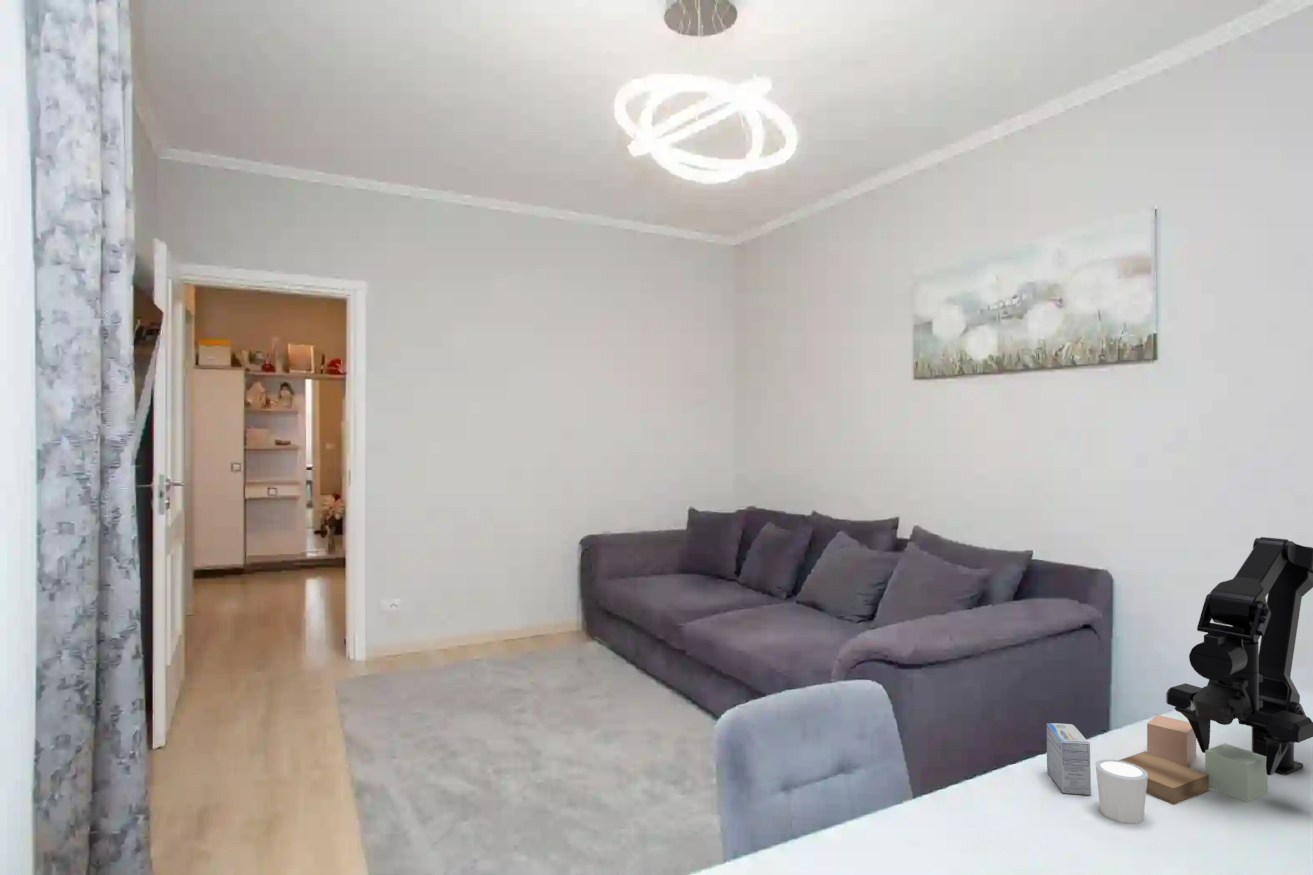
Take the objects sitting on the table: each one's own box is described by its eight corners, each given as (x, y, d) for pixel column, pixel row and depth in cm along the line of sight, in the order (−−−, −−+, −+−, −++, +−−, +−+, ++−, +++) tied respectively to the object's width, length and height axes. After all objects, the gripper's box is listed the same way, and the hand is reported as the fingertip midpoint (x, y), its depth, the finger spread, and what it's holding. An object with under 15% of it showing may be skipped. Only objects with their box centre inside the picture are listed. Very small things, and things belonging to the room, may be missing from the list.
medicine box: (1091, 796, 120) (1091, 742, 120) (1061, 793, 121) (1061, 740, 120) (1074, 774, 127) (1074, 723, 127) (1046, 771, 128) (1045, 721, 128)
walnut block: (1145, 765, 130) (1145, 751, 130) (1208, 789, 121) (1208, 774, 121) (1109, 777, 126) (1109, 763, 126) (1173, 804, 117) (1173, 788, 117)
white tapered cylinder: (1130, 830, 110) (1130, 782, 109) (1085, 809, 116) (1085, 764, 116) (1158, 818, 113) (1157, 772, 113) (1112, 798, 119) (1112, 755, 119)
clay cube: (1157, 746, 138) (1157, 714, 138) (1196, 757, 134) (1196, 723, 134) (1147, 756, 134) (1147, 723, 134) (1187, 767, 130) (1187, 733, 130)
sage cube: (1225, 778, 125) (1225, 743, 125) (1267, 794, 120) (1267, 756, 120) (1205, 786, 123) (1205, 750, 123) (1247, 802, 117) (1247, 764, 117)
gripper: (1147, 659, 126) (1147, 751, 126) (1279, 694, 109) (1279, 799, 109) (1184, 650, 131) (1185, 738, 131) (1316, 681, 114) (1316, 782, 114)
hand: (1236, 763), depth 121 cm, fingers open, 9 cm apart
